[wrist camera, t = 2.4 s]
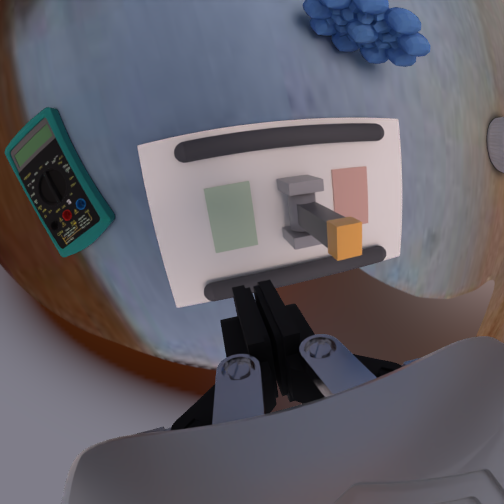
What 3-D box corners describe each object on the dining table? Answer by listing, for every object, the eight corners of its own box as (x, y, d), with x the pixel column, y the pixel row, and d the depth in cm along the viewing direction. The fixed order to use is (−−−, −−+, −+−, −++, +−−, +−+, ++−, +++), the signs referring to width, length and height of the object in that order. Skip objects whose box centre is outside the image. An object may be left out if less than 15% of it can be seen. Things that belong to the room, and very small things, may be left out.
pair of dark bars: (173, 144, 22) (171, 143, 20) (376, 123, 24) (386, 123, 23) (205, 296, 28) (206, 306, 26) (380, 256, 30) (388, 262, 28)
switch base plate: (143, 145, 24) (127, 145, 18) (382, 119, 27) (419, 118, 21) (178, 293, 30) (175, 328, 24) (386, 247, 33) (417, 267, 27)
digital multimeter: (73, 255, 27) (63, 265, 24) (13, 148, 21) (-1, 149, 18) (121, 220, 27) (113, 228, 24) (58, 105, 21) (45, 102, 18)
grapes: (387, 50, 24) (458, 29, 13) (369, 87, 26) (445, 73, 15) (308, -7, 20) (359, -58, 9) (282, 29, 22) (331, -25, 11)
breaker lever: (283, 193, 24) (331, 221, 16) (308, 189, 25) (365, 215, 16) (287, 225, 26) (333, 267, 17) (311, 221, 26) (365, 259, 17)
